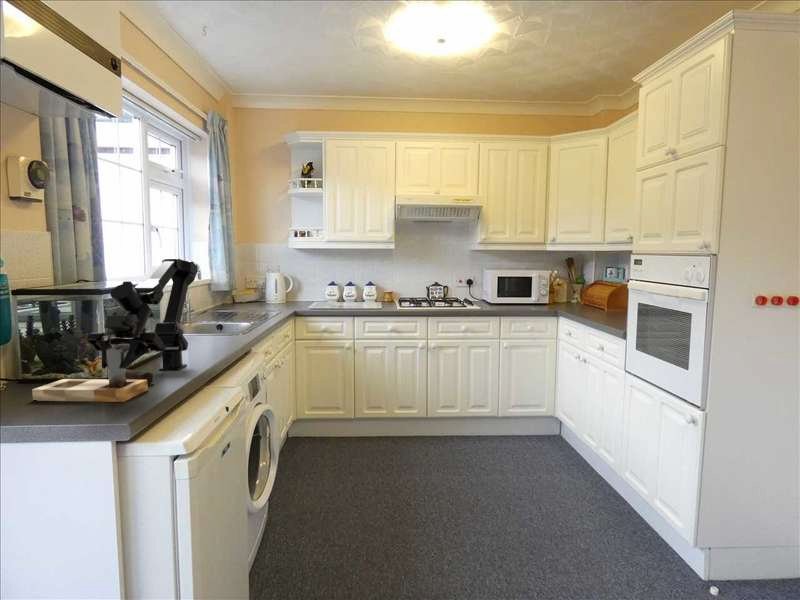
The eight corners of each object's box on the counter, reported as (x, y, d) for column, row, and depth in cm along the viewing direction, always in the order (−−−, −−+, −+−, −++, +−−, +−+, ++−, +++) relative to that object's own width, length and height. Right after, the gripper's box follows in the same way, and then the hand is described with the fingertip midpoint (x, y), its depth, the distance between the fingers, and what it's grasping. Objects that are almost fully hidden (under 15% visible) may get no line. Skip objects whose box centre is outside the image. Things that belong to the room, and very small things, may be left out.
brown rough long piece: (154, 384, 130) (153, 368, 130) (140, 387, 127) (139, 371, 126) (119, 376, 139) (118, 361, 139) (105, 379, 136) (104, 364, 135)
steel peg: (111, 394, 120) (108, 348, 119) (128, 392, 121) (125, 346, 120) (108, 398, 116) (104, 351, 115) (125, 396, 118) (122, 349, 116)
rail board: (64, 389, 125) (63, 378, 125) (147, 390, 123) (147, 379, 123) (33, 400, 115) (32, 389, 115) (123, 401, 114) (122, 390, 113)
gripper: (87, 304, 120) (60, 352, 110) (154, 303, 120) (133, 351, 110) (108, 327, 129) (84, 374, 119) (171, 326, 129) (153, 373, 119)
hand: (113, 367), depth 117 cm, fingers open, 5 cm apart
